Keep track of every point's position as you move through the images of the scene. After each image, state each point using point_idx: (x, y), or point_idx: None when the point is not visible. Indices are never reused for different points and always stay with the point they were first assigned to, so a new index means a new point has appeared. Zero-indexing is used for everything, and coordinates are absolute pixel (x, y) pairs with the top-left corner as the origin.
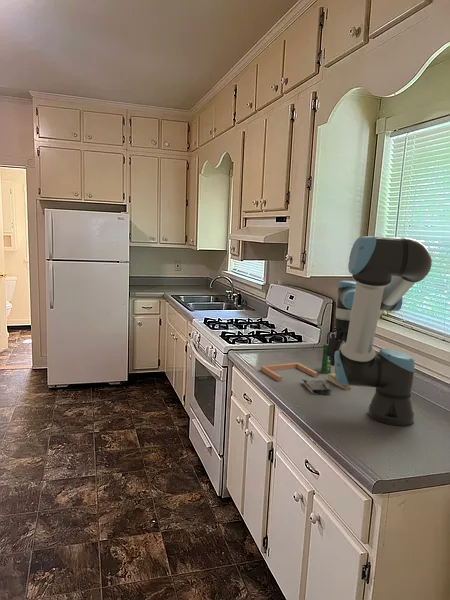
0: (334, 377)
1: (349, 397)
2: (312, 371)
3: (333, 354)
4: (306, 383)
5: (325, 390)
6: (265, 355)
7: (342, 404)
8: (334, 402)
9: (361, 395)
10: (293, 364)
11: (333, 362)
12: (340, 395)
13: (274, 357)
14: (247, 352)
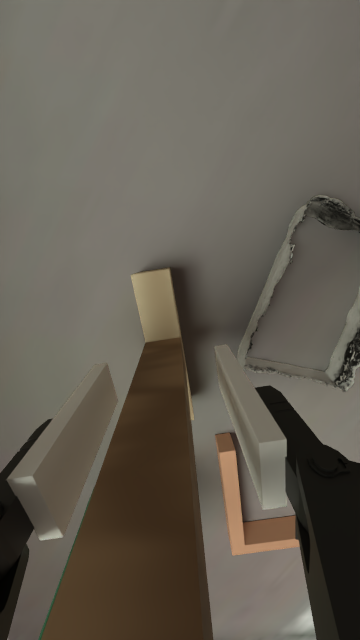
0: (186, 371)
1: (216, 145)
2: (235, 467)
3: (302, 551)
4: (314, 370)
5: (339, 213)
6: (274, 615)
7: (331, 25)
8: (355, 76)
9: (126, 164)
10: (261, 541)
11: (276, 411)
12: (249, 188)
13: (256, 602)
14: (314, 635)
